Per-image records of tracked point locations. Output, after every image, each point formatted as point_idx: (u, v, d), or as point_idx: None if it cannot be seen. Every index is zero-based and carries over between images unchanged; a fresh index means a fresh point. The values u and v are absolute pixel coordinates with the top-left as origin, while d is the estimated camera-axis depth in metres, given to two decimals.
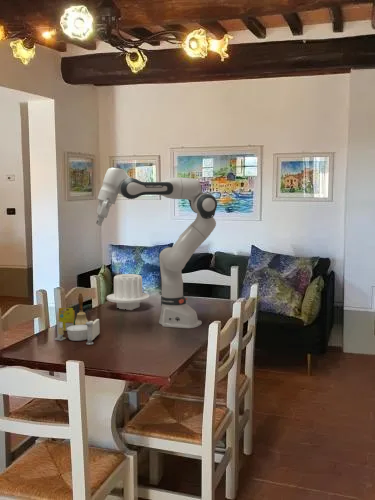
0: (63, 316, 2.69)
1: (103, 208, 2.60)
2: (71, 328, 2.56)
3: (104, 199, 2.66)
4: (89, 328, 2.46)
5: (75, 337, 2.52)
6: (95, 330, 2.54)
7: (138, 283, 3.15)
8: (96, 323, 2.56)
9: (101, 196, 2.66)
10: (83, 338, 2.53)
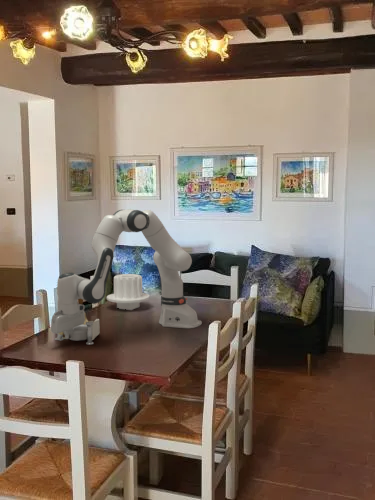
0: None
1: (51, 324, 2.40)
2: None
3: (59, 312, 2.45)
4: (89, 328, 2.46)
5: (75, 337, 2.52)
6: (95, 330, 2.54)
7: (138, 283, 3.15)
8: (96, 323, 2.56)
9: None
10: (83, 338, 2.53)
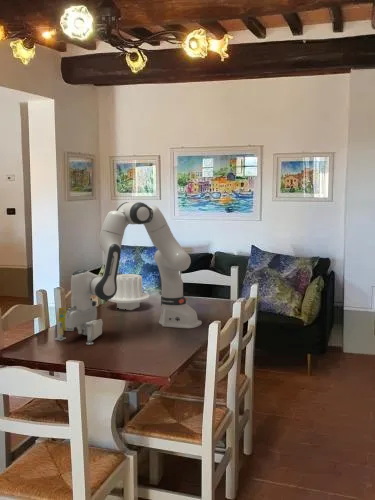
0: (63, 316, 2.69)
1: (66, 319, 2.49)
2: None
3: None
4: (89, 328, 2.46)
5: None
6: (96, 330, 2.54)
7: (138, 283, 3.15)
8: (98, 323, 2.56)
9: (71, 305, 2.55)
10: None
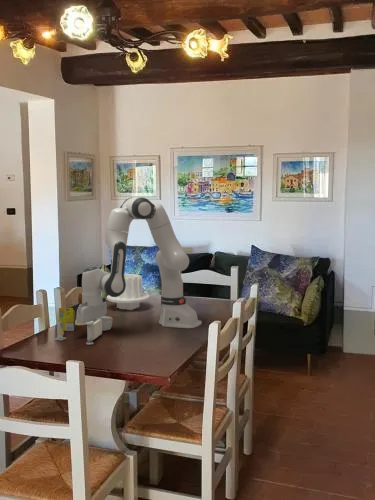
0: (63, 316, 2.69)
1: (77, 315, 2.57)
2: None
3: None
4: (89, 328, 2.46)
5: None
6: (96, 330, 2.54)
7: (138, 283, 3.15)
8: (98, 323, 2.56)
9: (82, 301, 2.63)
10: (105, 328, 2.69)
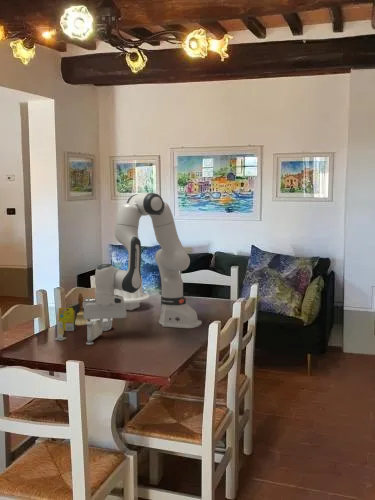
0: (63, 316, 2.69)
1: None
2: (94, 319, 2.73)
3: None
4: (89, 328, 2.46)
5: None
6: (96, 330, 2.54)
7: None
8: (98, 323, 2.56)
9: None
10: (105, 329, 2.69)
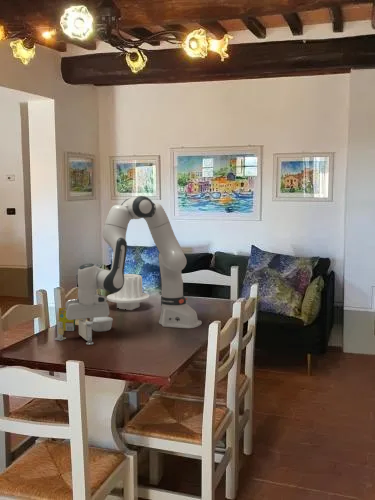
0: (63, 316, 2.69)
1: (66, 310, 2.55)
2: (94, 319, 2.73)
3: None
4: (89, 328, 2.46)
5: (97, 328, 2.68)
6: None
7: (138, 283, 3.15)
8: None
9: None
10: (105, 329, 2.69)
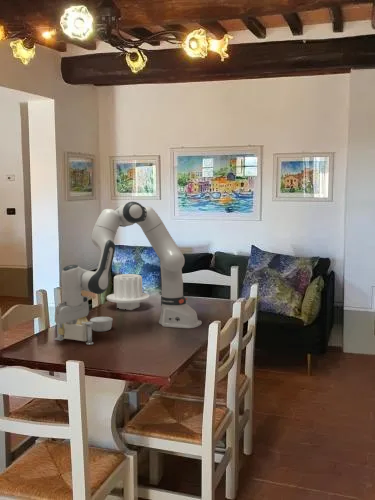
0: None
1: (55, 315, 2.46)
2: (94, 319, 2.73)
3: None
4: (89, 328, 2.46)
5: (97, 328, 2.68)
6: None
7: (138, 283, 3.15)
8: None
9: (62, 300, 2.52)
10: (105, 329, 2.69)
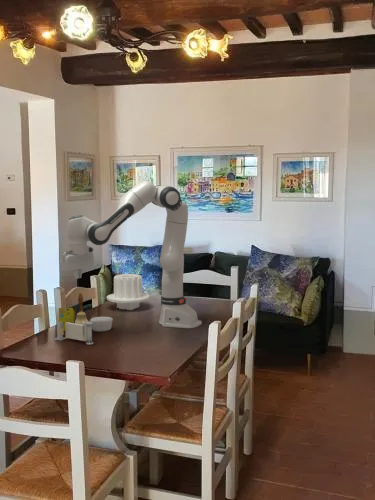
0: (63, 316, 2.69)
1: (62, 262, 2.53)
2: (94, 319, 2.73)
3: None
4: (89, 328, 2.46)
5: (97, 328, 2.68)
6: None
7: (138, 283, 3.15)
8: None
9: (68, 250, 2.59)
10: (105, 329, 2.69)
